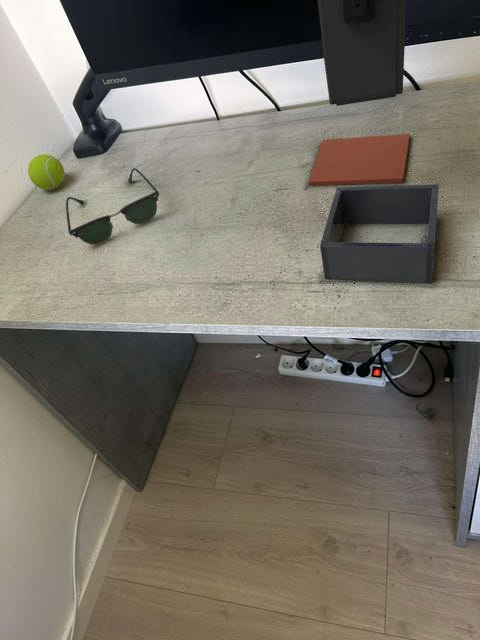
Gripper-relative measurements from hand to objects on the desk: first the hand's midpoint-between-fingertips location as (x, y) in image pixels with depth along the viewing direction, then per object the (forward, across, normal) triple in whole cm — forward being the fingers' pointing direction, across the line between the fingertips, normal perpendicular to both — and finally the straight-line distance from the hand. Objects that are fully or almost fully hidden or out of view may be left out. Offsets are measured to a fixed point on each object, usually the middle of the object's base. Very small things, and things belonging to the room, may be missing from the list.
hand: (362, 10), depth 54 cm
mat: (+28, +14, +4) cm, 31 cm away
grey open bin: (+28, -8, -2) cm, 29 cm away
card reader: (+10, 0, 0) cm, 10 cm away
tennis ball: (+28, +11, +66) cm, 73 cm away
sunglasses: (+28, +1, +47) cm, 54 cm away
